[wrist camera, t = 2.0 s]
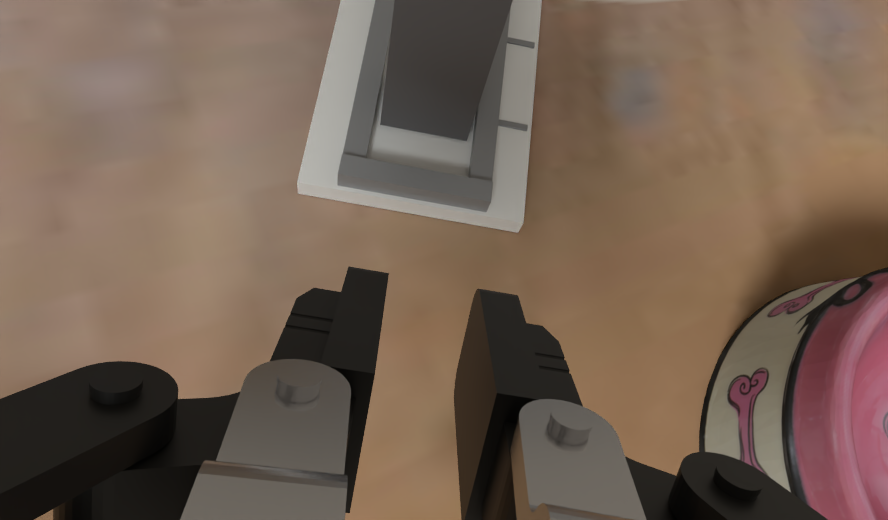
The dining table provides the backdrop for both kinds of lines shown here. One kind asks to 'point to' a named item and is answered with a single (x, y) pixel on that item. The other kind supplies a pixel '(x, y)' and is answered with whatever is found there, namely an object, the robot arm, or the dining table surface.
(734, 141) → the dining table surface
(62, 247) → the dining table surface
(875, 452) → the dog bowl
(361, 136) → the fader console
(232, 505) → the robot arm
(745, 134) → the dining table surface
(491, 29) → the fader tab
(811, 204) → the dining table surface
